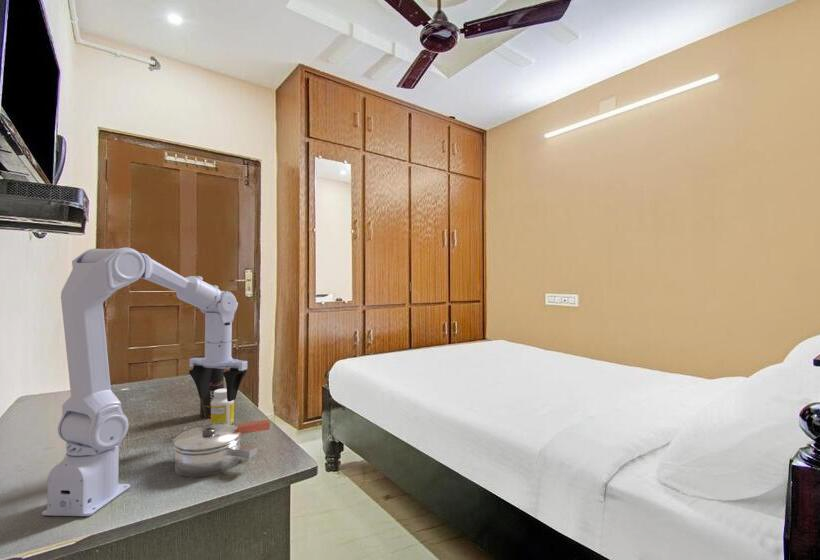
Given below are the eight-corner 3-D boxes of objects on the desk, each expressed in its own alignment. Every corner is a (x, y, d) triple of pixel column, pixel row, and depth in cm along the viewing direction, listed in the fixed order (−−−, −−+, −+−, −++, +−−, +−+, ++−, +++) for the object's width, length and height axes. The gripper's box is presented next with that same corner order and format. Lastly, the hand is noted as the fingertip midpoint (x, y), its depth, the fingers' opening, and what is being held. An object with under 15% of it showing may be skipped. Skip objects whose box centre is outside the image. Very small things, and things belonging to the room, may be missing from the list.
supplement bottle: (227, 422, 107) (228, 386, 107) (237, 427, 104) (238, 390, 104) (206, 428, 103) (207, 390, 103) (216, 433, 100) (217, 394, 100)
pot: (149, 471, 80) (149, 446, 80) (199, 446, 92) (199, 424, 92) (230, 486, 74) (231, 459, 74) (272, 457, 86) (272, 434, 86)
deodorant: (206, 419, 110) (207, 365, 110) (196, 415, 113) (196, 362, 113) (227, 414, 114) (227, 361, 114) (216, 409, 118) (217, 359, 118)
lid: (173, 456, 75) (173, 446, 75) (175, 433, 86) (175, 425, 86) (273, 438, 84) (273, 430, 84) (264, 420, 95) (264, 412, 95)
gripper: (255, 340, 96) (255, 396, 96) (205, 337, 100) (204, 392, 100) (236, 344, 90) (235, 405, 90) (182, 341, 93) (181, 400, 93)
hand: (217, 398), depth 94 cm, fingers open, 7 cm apart
